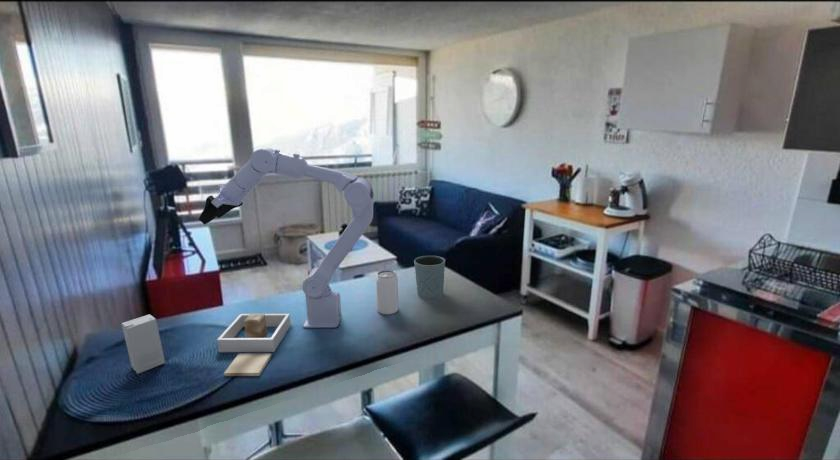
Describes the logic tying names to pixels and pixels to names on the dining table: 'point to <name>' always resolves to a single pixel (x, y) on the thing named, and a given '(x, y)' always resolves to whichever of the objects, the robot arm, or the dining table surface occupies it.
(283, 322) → the white square frame
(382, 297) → the can
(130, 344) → the skincare box
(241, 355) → the birch pad
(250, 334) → the oak block
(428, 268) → the grey-green cup
